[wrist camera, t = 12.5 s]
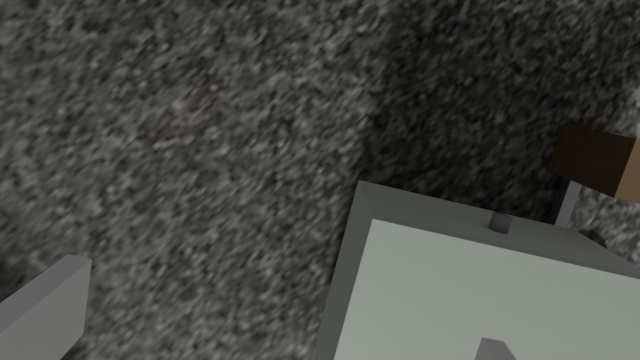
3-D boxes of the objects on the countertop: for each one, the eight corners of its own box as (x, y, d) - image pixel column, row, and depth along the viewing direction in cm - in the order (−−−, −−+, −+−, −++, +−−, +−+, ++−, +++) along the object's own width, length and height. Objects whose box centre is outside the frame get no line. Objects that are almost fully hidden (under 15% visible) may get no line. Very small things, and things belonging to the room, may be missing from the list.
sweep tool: (562, 124, 42) (636, 138, 32) (607, 135, 42) (695, 152, 32) (511, 272, 45) (564, 326, 35) (553, 281, 45) (618, 337, 36)
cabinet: (354, 158, 43) (376, 204, 27) (560, 206, 44) (695, 277, 28) (312, 321, 46) (310, 444, 31) (502, 361, 47) (593, 500, 32)
